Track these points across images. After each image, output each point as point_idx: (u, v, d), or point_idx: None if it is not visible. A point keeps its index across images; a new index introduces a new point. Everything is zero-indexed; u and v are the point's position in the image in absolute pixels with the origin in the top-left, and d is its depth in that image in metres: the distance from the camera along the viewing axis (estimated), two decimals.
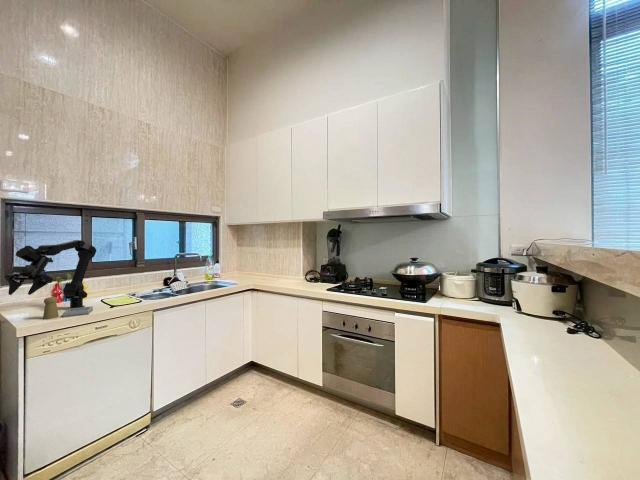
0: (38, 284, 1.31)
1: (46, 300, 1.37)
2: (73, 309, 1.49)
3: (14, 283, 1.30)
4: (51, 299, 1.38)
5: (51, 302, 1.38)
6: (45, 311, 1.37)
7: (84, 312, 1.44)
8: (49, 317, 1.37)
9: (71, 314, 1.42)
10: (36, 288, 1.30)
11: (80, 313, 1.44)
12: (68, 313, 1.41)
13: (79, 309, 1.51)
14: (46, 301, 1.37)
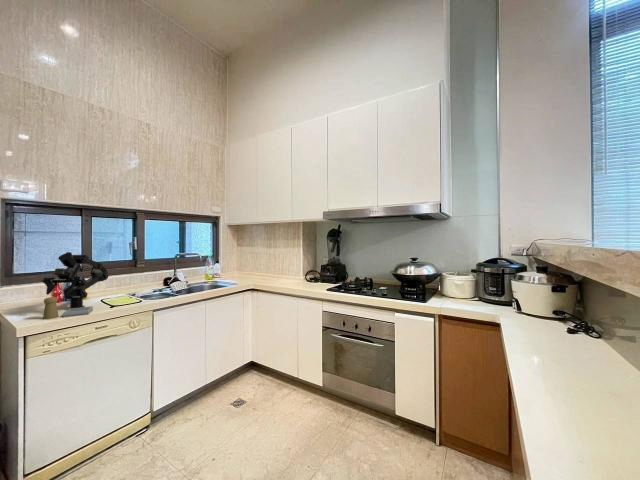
0: (74, 285, 1.49)
1: (46, 300, 1.37)
2: (73, 309, 1.49)
3: (51, 285, 1.46)
4: (51, 299, 1.38)
5: (51, 302, 1.38)
6: (45, 311, 1.37)
7: (84, 312, 1.44)
8: (49, 317, 1.37)
9: (71, 314, 1.42)
10: (73, 288, 1.48)
11: (80, 313, 1.44)
12: (68, 313, 1.41)
13: (79, 309, 1.51)
14: (46, 301, 1.37)
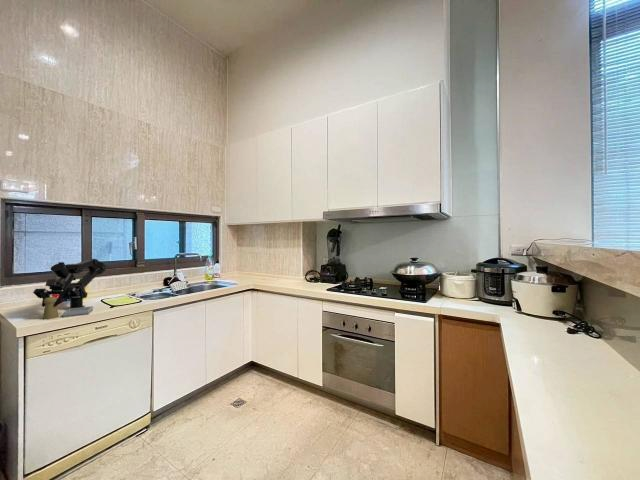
0: (63, 297, 1.43)
1: (46, 300, 1.37)
2: (73, 309, 1.49)
3: (47, 296, 1.41)
4: (51, 299, 1.38)
5: (51, 302, 1.38)
6: (45, 311, 1.37)
7: (84, 312, 1.44)
8: (49, 317, 1.37)
9: (71, 314, 1.42)
10: (61, 300, 1.41)
11: (80, 313, 1.44)
12: (68, 313, 1.41)
13: (79, 309, 1.51)
14: (46, 301, 1.37)
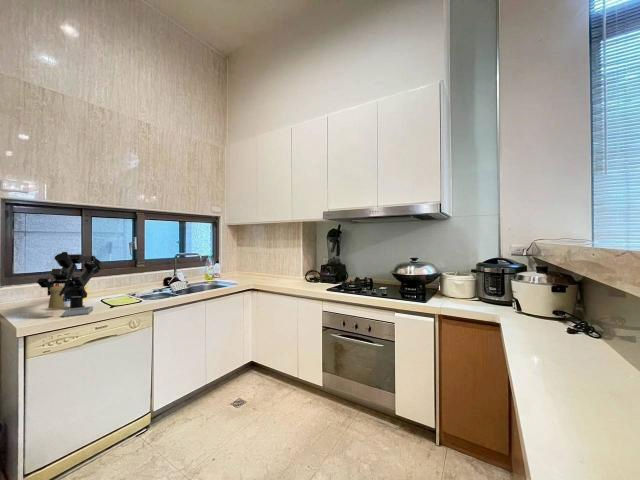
0: (68, 286, 1.44)
1: (52, 289, 1.38)
2: (73, 309, 1.49)
3: (51, 285, 1.41)
4: (57, 288, 1.39)
5: (58, 291, 1.39)
6: (51, 300, 1.38)
7: (84, 312, 1.44)
8: (55, 306, 1.38)
9: (71, 314, 1.42)
10: (66, 289, 1.43)
11: (80, 313, 1.44)
12: (68, 313, 1.41)
13: (79, 309, 1.51)
14: (52, 290, 1.38)
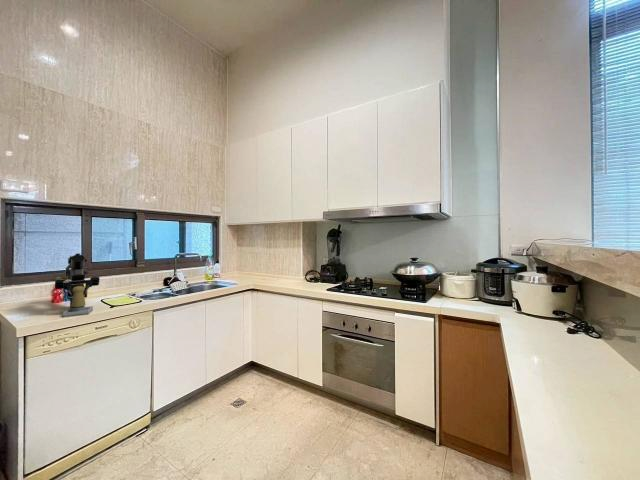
0: None
1: (78, 289, 1.45)
2: (73, 309, 1.49)
3: (71, 286, 1.46)
4: (82, 287, 1.47)
5: (82, 290, 1.47)
6: (76, 299, 1.45)
7: (84, 312, 1.44)
8: (81, 304, 1.46)
9: (71, 314, 1.42)
10: (87, 289, 1.51)
11: (80, 313, 1.44)
12: (68, 313, 1.41)
13: (79, 309, 1.51)
14: (78, 289, 1.45)
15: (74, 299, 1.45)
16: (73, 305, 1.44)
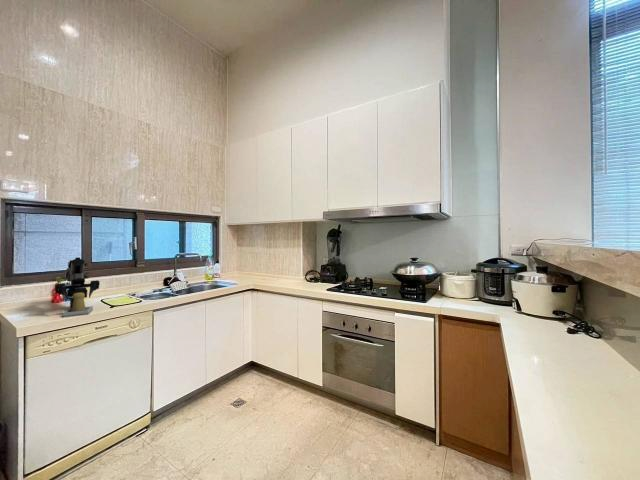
0: None
1: (78, 295, 1.45)
2: None
3: None
4: (82, 294, 1.47)
5: (83, 296, 1.47)
6: (77, 305, 1.45)
7: (84, 312, 1.44)
8: (82, 310, 1.46)
9: (71, 314, 1.42)
10: (91, 292, 1.52)
11: (80, 313, 1.44)
12: (68, 313, 1.41)
13: None
14: (78, 296, 1.45)
15: (74, 305, 1.45)
16: (73, 311, 1.44)
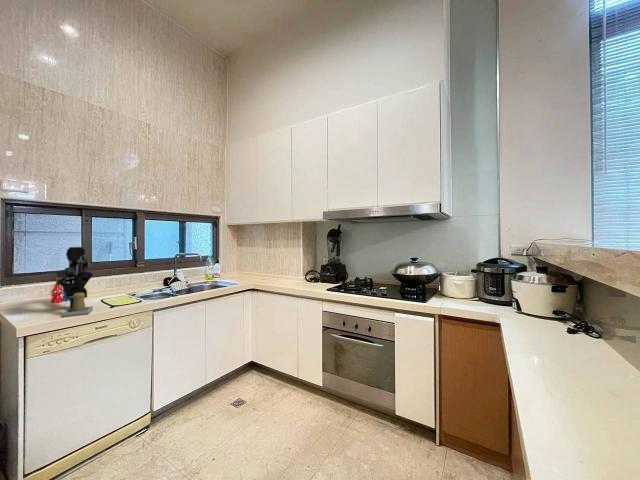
0: (83, 280, 1.51)
1: (78, 295, 1.45)
2: None
3: (66, 285, 1.51)
4: (82, 294, 1.47)
5: (83, 296, 1.47)
6: (77, 305, 1.45)
7: (84, 312, 1.44)
8: None
9: (71, 314, 1.42)
10: (83, 284, 1.50)
11: (80, 313, 1.44)
12: (68, 313, 1.41)
13: None
14: (78, 296, 1.45)
15: (74, 306, 1.45)
16: None
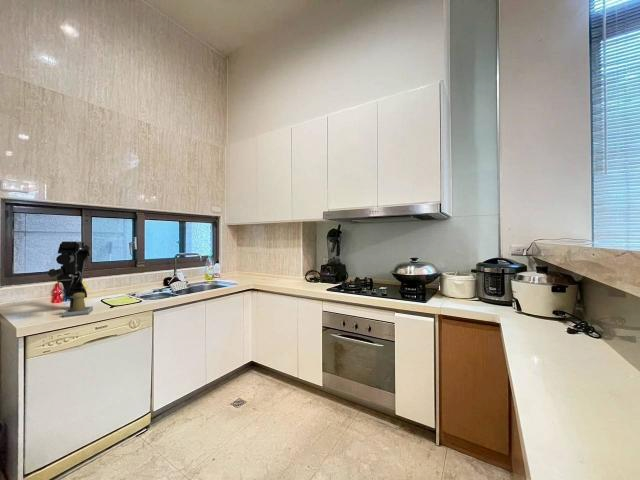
0: (67, 282, 1.43)
1: (78, 295, 1.45)
2: None
3: None
4: (82, 294, 1.47)
5: (83, 296, 1.47)
6: (77, 305, 1.45)
7: (84, 312, 1.44)
8: None
9: (71, 314, 1.42)
10: (67, 286, 1.43)
11: (80, 313, 1.44)
12: (68, 313, 1.41)
13: None
14: (78, 296, 1.45)
15: (74, 306, 1.45)
16: None
